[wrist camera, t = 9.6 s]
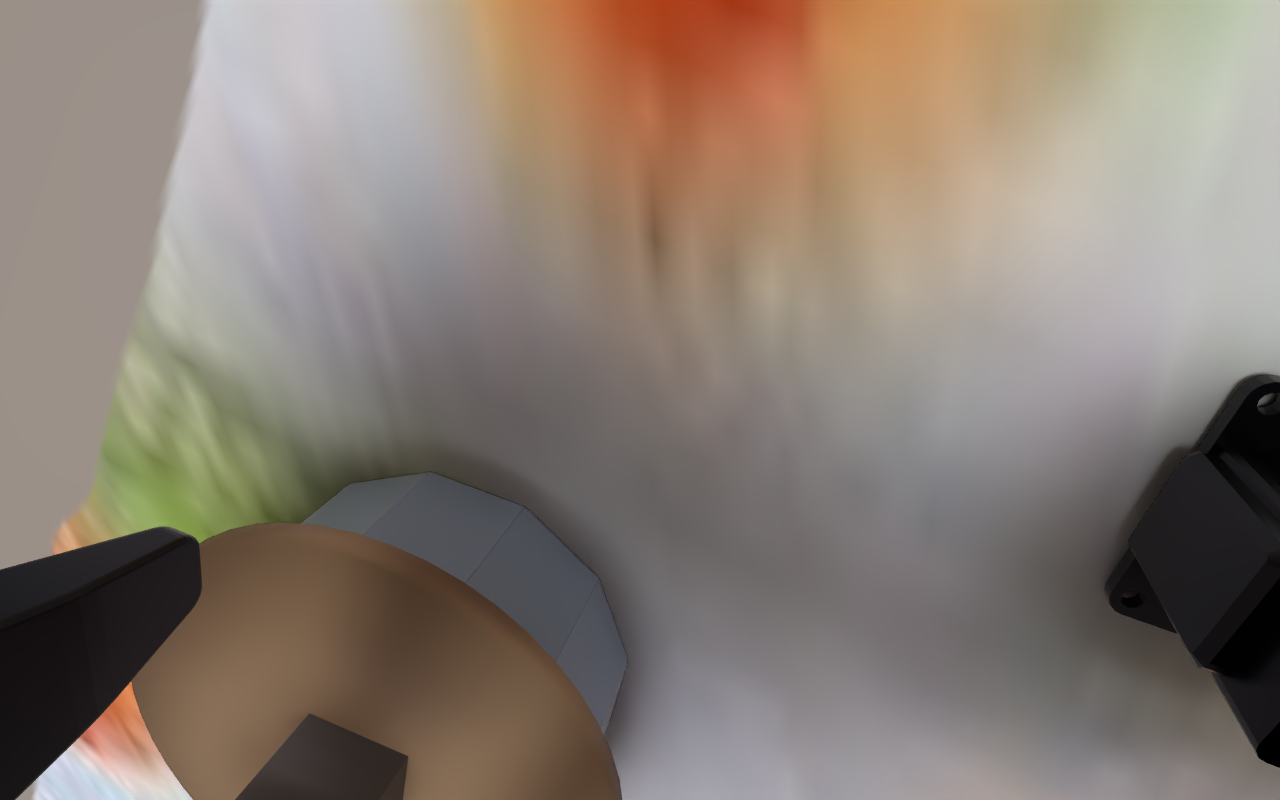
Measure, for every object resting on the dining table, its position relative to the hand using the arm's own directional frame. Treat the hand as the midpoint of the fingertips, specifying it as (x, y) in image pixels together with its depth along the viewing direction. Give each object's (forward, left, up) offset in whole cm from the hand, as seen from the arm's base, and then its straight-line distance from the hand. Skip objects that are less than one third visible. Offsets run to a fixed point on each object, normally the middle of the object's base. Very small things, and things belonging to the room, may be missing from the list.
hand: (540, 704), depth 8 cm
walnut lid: (+6, +13, -7) cm, 16 cm away
